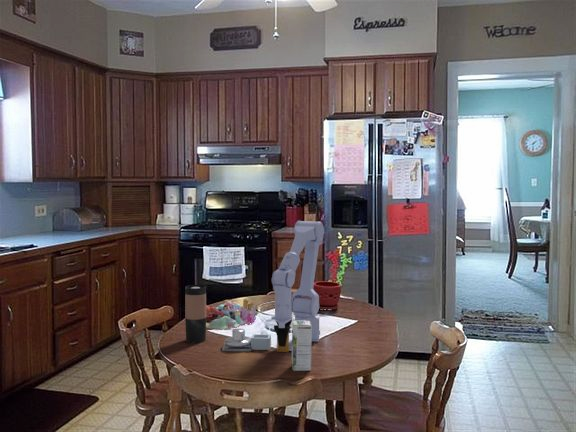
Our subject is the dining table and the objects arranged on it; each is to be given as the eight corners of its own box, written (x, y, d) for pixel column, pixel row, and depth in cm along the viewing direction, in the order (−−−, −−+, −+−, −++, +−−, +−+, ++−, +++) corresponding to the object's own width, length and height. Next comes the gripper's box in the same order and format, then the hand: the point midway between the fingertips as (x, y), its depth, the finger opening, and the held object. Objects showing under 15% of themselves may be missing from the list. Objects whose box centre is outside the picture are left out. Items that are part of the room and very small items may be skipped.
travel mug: (210, 338, 196) (209, 285, 195) (200, 344, 189) (199, 289, 188) (191, 336, 199) (191, 284, 198) (181, 342, 192) (181, 287, 190)
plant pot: (311, 311, 239) (311, 285, 239) (314, 305, 252) (314, 280, 252) (340, 312, 237) (340, 286, 237) (341, 306, 250) (341, 281, 250)
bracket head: (273, 339, 196) (273, 328, 196) (269, 349, 183) (269, 338, 183) (255, 338, 196) (255, 328, 196) (250, 349, 183) (250, 338, 183)
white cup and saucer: (254, 343, 191) (254, 326, 190) (250, 351, 181) (250, 334, 180) (227, 342, 191) (227, 326, 191) (222, 351, 181) (221, 333, 181)
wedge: (277, 349, 183) (277, 329, 183) (289, 349, 183) (289, 330, 183) (277, 351, 181) (277, 331, 181) (288, 351, 181) (288, 331, 180)
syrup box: (291, 365, 167) (291, 320, 166) (309, 364, 168) (309, 319, 167) (292, 371, 162) (293, 325, 161) (311, 370, 162) (312, 324, 161)
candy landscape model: (209, 314, 235) (209, 293, 235) (260, 316, 232) (260, 295, 231) (190, 329, 211) (190, 306, 210) (247, 331, 207) (247, 308, 206)
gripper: (273, 299, 189) (273, 336, 189) (269, 309, 174) (269, 349, 175) (293, 300, 188) (292, 337, 189) (290, 309, 174) (290, 349, 174)
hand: (283, 343), depth 182 cm, fingers open, 6 cm apart
